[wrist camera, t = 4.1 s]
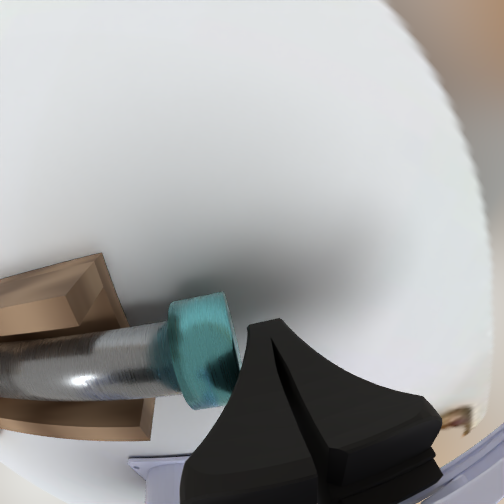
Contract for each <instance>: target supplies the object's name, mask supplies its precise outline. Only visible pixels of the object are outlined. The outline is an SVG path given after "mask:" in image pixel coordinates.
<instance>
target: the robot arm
mask: <svg viewBox="0 0 504 504" xmlns="http://www.w3.org/2000/svg"><path fill="white" fill-rule="evenodd" d="M247 330H248V336H247V345H246V350H245V355H244V359H243V363H242V367H241V370H240V373H239V376H238V379H237V382H236V384H235V387H234V389H233V392H232V394H231V396H230V398H229V400H228V402H227V404H226V406H225V408H224V410H223V412H222V413H221V415H220V417H219V418H218V420H217V422H216V423H215V425H214V426H213V428H212V429H211V430H210V432H209V433H208V435H207V436H206V438H205V439H204V440H203V442H202V443H201V444H200V445H199V446H198V448H197V449H196V450H195V451H194V452H193V453H192V454H191V456H184V457H169V458H130V459H128V464H129V465H130V466H131V467H132V468H133V469H134V470H135V471H136V472H137V473H138V474H139V475H140V476H141V477H142V478H143V479H144V480H145V481H146V494H145V504H416V503H418V502H420V501H422V500H423V499H425V498H427V497H428V498H427V499H425V500H424V501H422V502H421V504H497V503H498V502H499V501H500V500H501V499H502V498H504V423H503V424H501V425H500V426H499V427H498V428H497V429H495V430H494V431H493V432H492V433H490V434H489V435H488V436H487V437H485V438H484V439H483V440H481V441H480V442H479V443H477V444H476V445H474V446H473V447H472V448H470V449H469V450H467V451H466V452H464V453H463V454H461V455H460V456H458V457H457V458H455V459H454V460H452V461H451V462H449V463H447V464H446V465H444V466H443V467H441V468H439V467H438V465H437V464H436V462H435V460H434V459H433V458H434V457H435V456H436V455H435V452H434V450H433V449H432V447H431V445H432V444H433V442H434V440H435V438H436V437H437V435H438V433H439V431H440V429H441V426H442V418H441V417H440V415H439V414H438V413H437V411H436V410H435V409H434V408H433V406H432V405H431V404H430V403H429V402H428V401H427V400H426V399H425V398H424V397H423V396H419V395H414V394H409V393H404V392H400V391H395V390H392V389H389V388H386V387H382V386H379V385H376V384H374V383H371V382H369V381H367V380H364V379H362V378H359V377H357V376H355V375H353V374H351V373H349V372H347V371H345V370H344V369H342V368H340V367H338V366H337V365H335V364H333V363H332V362H330V361H329V360H327V359H326V358H324V357H323V356H322V355H320V354H319V353H317V352H316V351H315V350H314V349H312V348H311V347H310V346H309V345H308V344H306V343H305V342H304V341H303V340H302V339H301V338H299V337H298V336H297V335H296V334H295V333H294V332H293V331H292V330H291V329H290V328H289V327H288V326H287V325H286V324H285V322H284V321H283V320H282V319H280V318H278V319H273V320H269V321H264V322H260V323H255V324H251V325H249V326H248V327H247ZM429 496H430V497H429Z"/></svg>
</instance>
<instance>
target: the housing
mask: <svg viewBox="0 0 504 504" xmlns="http://www.w3.org/2000/svg"><path fill="white" fill-rule="evenodd" d="M126 327H130V326H129V324H128V321H127V319H126V317H125V314H124V312H123V309H122V307H121V304H120V302H119V299H118V297H117V294H116V292H115V289H114V286H113V284H112V281H111V278H110V275H109V273H108V270H107V267H106V264H105V261H104V258H103V255H102V253H98V254H94V255H90V256H86V257H82V258H78V259H74V260H70V261H67V262H63V263H59V264H55V265H51V266H47V267H44V268H40V269H36V270H32V271H29V272H25V273H21V274H18V275H14V276H11V277H7V278H3V279H0V343H3V342H14V341H25V340H35V339H44V338H53V337H62V336H70V335H78V334H85V333H92V332H100V331H107V330H113V329H120V328H126ZM154 405H155V397H153V398H142V399H129V400H111V401H40V400H24V399H12V398H2V397H0V428H1V429H6V430H11V431H16V432H21V433H27V434H33V435H40V436H47V437H55V438H65V439H77V440H93V441H150V438H151V429H152V420H153V412H154Z"/></svg>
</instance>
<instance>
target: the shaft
mask: <svg viewBox="0 0 504 504" xmlns="http://www.w3.org/2000/svg"><path fill="white" fill-rule="evenodd" d="M241 367H242V362H241V357H240V353H239V348H238V344H237V339H236V335H235V330H234V326H233V322H232V318H231V314H230V310H229V306H228V302H227V299H226V296H225V293H224V291H223V292H219V293H214V294H209V295H204V296H199V297H194V298H189V299H183V300H178V301H173V302H172V303H171V304H170V306H169V310H168V321H163V322H157V323H151V324H145V325H139V326H133V327H126V328H120V329H113V330H107V331H100V332H92V333H85V334H78V335H70V336H62V337H53V338H44V339H35V340H25V341H14V342H3V343H0V397H2V398H12V399H24V400H40V401H111V400H129V399H142V398H153V397H163V396H172V395H180V394H183V396H184V398H185V400H186V402H187V403H188V405H189V406H190V407H191V408H192V409H194V410H199V409H206V408H213V407H219V406H225V405H226V404H227V402H228V400H229V398H230V396H231V394H232V392H233V389H234V387H235V384H236V382H237V379H238V376H239V373H240V370H241Z"/></svg>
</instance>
